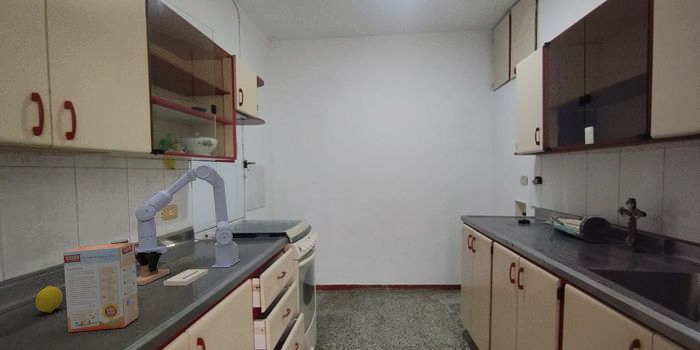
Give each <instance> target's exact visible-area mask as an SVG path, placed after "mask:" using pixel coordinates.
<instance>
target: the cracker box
mask: <svg viewBox="0 0 700 350" xmlns="http://www.w3.org/2000/svg"><path fill="white" fill-rule="evenodd" d="M135 248H136V247H135V242H128V243H120V244H111V243H108V244H106V243H105V244H95V245H84V246H83V245H82V246H77V247H74V248H72V249H71V248H70V249H67V250H64V251H63V252H62V253H63V267H64V268H63V269H64V281H65V282H64V284H65V298H66V315H67V327H68V328H67V329H68V333H76V332H87V331H99V330H100V331H101V330H110V329H112V330H113V329H122V328H125V327H127V326H128V325H130V324H131V323H132V322H134V321H136V319H138V318H139V317H140V310H139V309H140V308H139V293H138V285H137V277H138V276H137V265H136V259H135V255H136V253H135Z"/></svg>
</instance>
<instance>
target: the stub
mask: <svg viewBox="0 0 700 350" xmlns="http://www.w3.org/2000/svg"><path fill="white" fill-rule="evenodd" d="M158 265H159V263H158V264H157V269H156V271H154V272H150V269H149V264H146V265H144V266H140V275H139V276H136V277H137V286H145V285H147V284H148V283H151V282H153V281H155V280H157V279H160V278H162V277H165V276H166V275H168V274H170V272H171V271H170V269H169V268H165V269H164V268H163V269H162V268H161V269H160V268H159V266H158Z"/></svg>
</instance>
